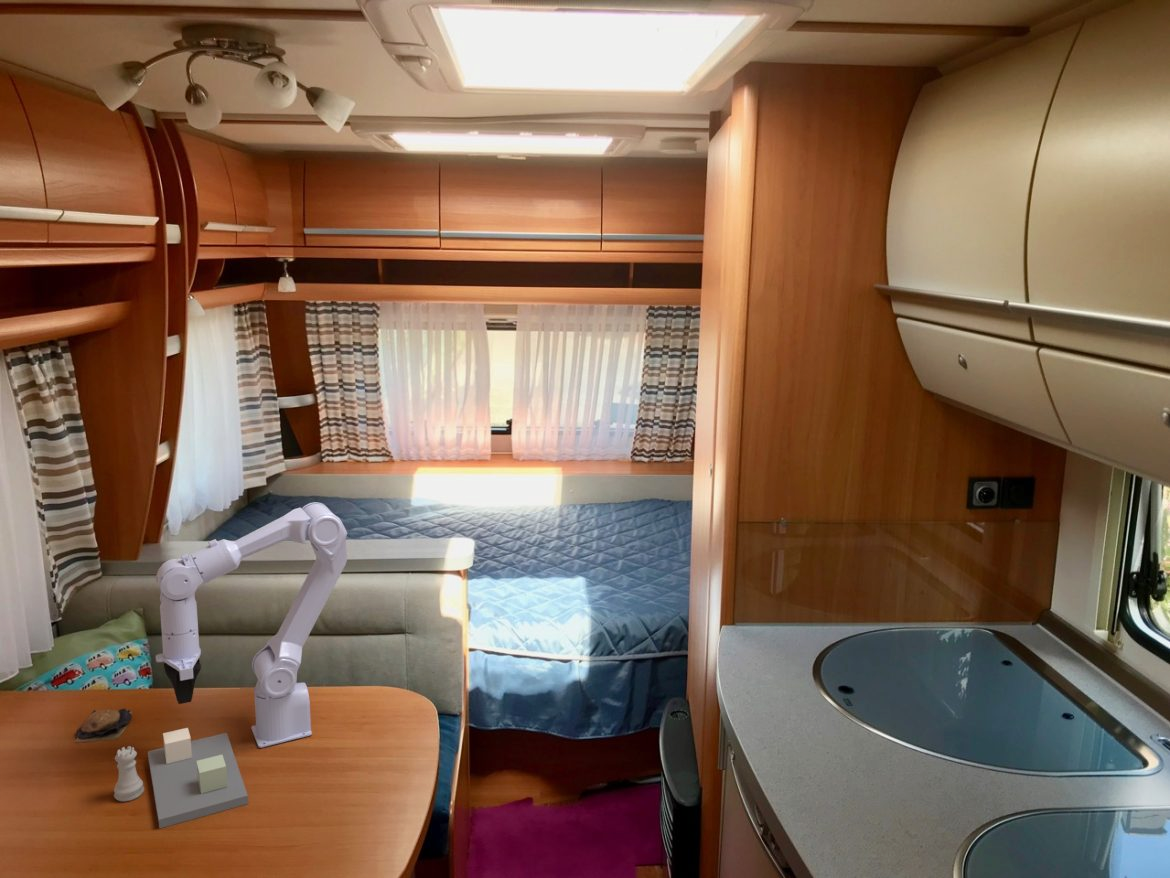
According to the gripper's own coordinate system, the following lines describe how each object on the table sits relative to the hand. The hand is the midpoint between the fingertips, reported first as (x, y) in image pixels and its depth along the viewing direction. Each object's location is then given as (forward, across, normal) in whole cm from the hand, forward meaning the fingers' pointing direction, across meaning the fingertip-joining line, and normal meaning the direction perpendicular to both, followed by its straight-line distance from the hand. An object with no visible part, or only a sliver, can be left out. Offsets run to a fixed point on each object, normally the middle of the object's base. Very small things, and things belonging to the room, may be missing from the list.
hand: (184, 701), depth 150 cm
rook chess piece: (+11, +8, -10) cm, 17 cm away
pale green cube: (+9, +14, +2) cm, 17 cm away
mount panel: (+10, +9, 0) cm, 14 cm away
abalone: (+11, -18, -12) cm, 25 cm away
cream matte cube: (+9, +2, -2) cm, 9 cm away
